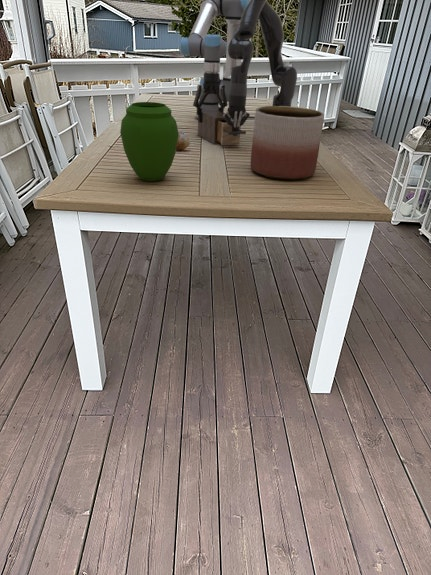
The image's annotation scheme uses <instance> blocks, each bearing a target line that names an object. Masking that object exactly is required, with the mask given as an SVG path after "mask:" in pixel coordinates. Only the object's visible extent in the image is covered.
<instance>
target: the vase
mask: <svg viewBox="0 0 431 575" xmlns="http://www.w3.org/2000/svg"><path fill="white" fill-rule="evenodd" d="M125 113H126V114H125V115H124V117H122V119H121V122H120V123H121V124H120V130H119V133H120V138H121V142H122V147H123V150H124V154H125V155H126V158H127V160H128V163H129V165H130V167H131V168H132V170H133V172H134V173H135V175H136V176H137V177H138V178H139V179H141V180H143V181H145V182H159V181H161V180H163V179H164V178H165V176H166V175H167V174H168V173H169V170H170V169H171V167H172V165H173V162H174V159H175V157H176V156H175V155H176V153H177V149H176V148H177V141H178V134H179V133H178V132H179V129H178V122H177V120H176V119H175V117H174V116H173V115H172V109H171V108H170V107H169V106H167V105H166V104H164V103H162V102H155V101H138V102H132V103H131V104H130V105H128V107H127V108H125Z"/></svg>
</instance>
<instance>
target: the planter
mask: <svg viewBox="0 0 431 575" xmlns="http://www.w3.org/2000/svg"><path fill="white" fill-rule="evenodd" d="M254 117H255V118H254V123H253V124H254V125H253V135H252V142H251V143H252V144H251V153H250V163H249V164H250V168H251V169H252V170H253V171H254V172H255V173H257V174H258V175H260V176H262V177H266V178H271V179H276V180H284V181H285V180H286V181H288V180H289V181H290V180H293V181H294V180H295V181H296V180H302V179H306V178H309V177H311V176H313V175H314V174H315V173H316V169H317V165H318V158H319V153H320V152H319V151H320V147H321V146H320V145H321V141H322V140H321V139H322V133H323V126H324V122H325V121H324V120H325V113H324V112H322V111H319V110H317V109H312V108H307V107H299V106H291V107H290V106H272V105H267V106H266V105H265V106H260V107H257V108H256V109H255V114H254Z"/></svg>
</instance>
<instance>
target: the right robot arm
mask: <svg viewBox="0 0 431 575" xmlns="http://www.w3.org/2000/svg"><path fill="white" fill-rule="evenodd" d="M258 22H259V26H260V31H261V34H262V40H263V42H264V45H265V49H266V53H267V57H268V63H269V68H270V74H271V80H272V82H273V84H274V85H275V86H277V87H280V90H279V92H278V93H277V94H275V95H273V97H272V105H271V106H290V107H292V102H293V99H294V96H295V91H296V87H297V81H298V80H297V79H298V73H297V72H298V71H297V69H296V68H295V67H294V66H290V65H285V63H284V60H283V56H282V48H283V45H284V39H285V32H284V27H283V23H282V19H281V17H280V15H279V14H278V13H277V11H276V10H275V9H274V8H273V7H272V5H270V3H269V2H268V0H250V2H249V4H248V5H247V6H246V8H245V10H244V11H243V14H242V16H241V20H240V23H239V27H238V29H237V31H236V32H235V34H234V36H233V37H232V39H231V41H230V43H229V46H228V55H229V57H230V58H232V59H239V60H241V65H239V66H234V67H232V69H231V82H230V88H229V102H228V106H227V111H225V112H224V113H225V114H223V117H224V118H225V120H226V122H227V123H228V125H230V126H232V132H234V131H239V127H240V126H241V127H242V126H244V124H245V123H246V122H247V120H248V119H249V118H248V117H251V115H250V113H249V112H247V109H246V105H247V94H248V93H247V92H248V73H249V70H250V64H251V61H252V59H253V57H254V52H255V47H254V46H255V45H254V44H253V41H251V39H253V37H254V36H255V33H256V29H257V26H258ZM229 115H230V117H231V120H230V119H229ZM242 116H243V117H242ZM241 117H242V118H241ZM231 121H232V122H231ZM233 136H237V134H233Z"/></svg>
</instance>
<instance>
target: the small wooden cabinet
mask: <svg viewBox="0 0 431 575" xmlns="http://www.w3.org/2000/svg"><path fill="white" fill-rule="evenodd" d="M225 113H226V112H224V113H223V112H221V111H218V110H202V123H200V122H198V121H197V136H199V137H200V138H203V139H204V140H206V141H207V142H209V143H211V144H213V145H221V143H220V142H218V141H217V140H216V133H217V120H225V118H224V117H223V114H225ZM229 119H230V120H231V117H230V115H229Z"/></svg>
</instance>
